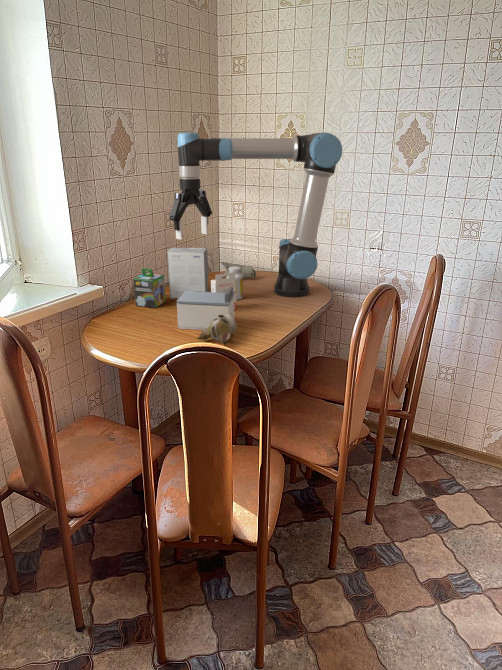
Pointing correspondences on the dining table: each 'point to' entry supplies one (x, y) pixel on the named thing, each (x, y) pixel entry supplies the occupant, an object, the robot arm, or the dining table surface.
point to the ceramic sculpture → (220, 329)
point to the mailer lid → (207, 297)
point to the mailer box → (200, 314)
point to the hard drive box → (187, 270)
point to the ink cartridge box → (224, 284)
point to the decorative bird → (244, 270)
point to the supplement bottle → (237, 281)
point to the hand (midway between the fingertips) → (192, 236)
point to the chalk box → (149, 289)
